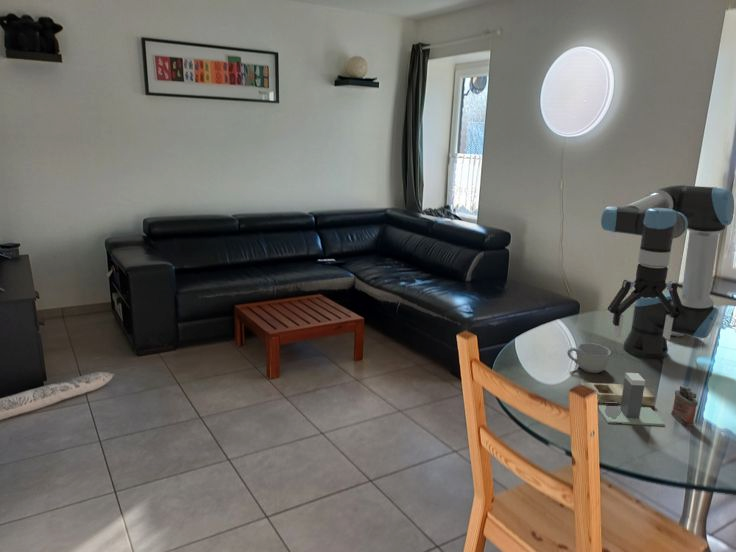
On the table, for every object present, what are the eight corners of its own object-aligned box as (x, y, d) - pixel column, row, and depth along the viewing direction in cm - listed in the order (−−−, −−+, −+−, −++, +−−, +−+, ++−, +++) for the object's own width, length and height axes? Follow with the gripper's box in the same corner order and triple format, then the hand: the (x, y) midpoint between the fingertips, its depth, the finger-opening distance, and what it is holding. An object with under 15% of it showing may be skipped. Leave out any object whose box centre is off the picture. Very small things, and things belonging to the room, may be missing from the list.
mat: (649, 408, 167) (649, 406, 167) (664, 425, 157) (664, 423, 157) (595, 406, 168) (596, 404, 168) (607, 423, 158) (607, 421, 158)
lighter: (668, 413, 164) (673, 382, 162) (678, 412, 165) (684, 382, 162) (685, 427, 157) (691, 395, 154) (696, 426, 157) (702, 394, 154)
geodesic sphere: (697, 317, 233) (679, 290, 231) (711, 329, 219) (693, 300, 218) (663, 335, 237) (646, 309, 235) (676, 347, 223) (657, 319, 222)
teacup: (606, 365, 197) (609, 345, 195) (608, 378, 187) (611, 356, 185) (565, 360, 202) (568, 339, 199) (565, 371, 192) (568, 350, 190)
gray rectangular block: (632, 410, 165) (638, 373, 161) (639, 418, 160) (645, 380, 157) (619, 409, 165) (625, 372, 162) (626, 417, 160) (632, 380, 157)
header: (642, 393, 176) (643, 385, 176) (653, 405, 169) (654, 397, 168) (579, 390, 177) (580, 382, 177) (587, 402, 170) (588, 393, 169)
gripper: (692, 262, 154) (680, 333, 159) (601, 260, 155) (592, 330, 161) (706, 269, 147) (693, 343, 152) (611, 266, 148) (601, 340, 154)
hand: (641, 337), depth 157 cm, fingers open, 13 cm apart
